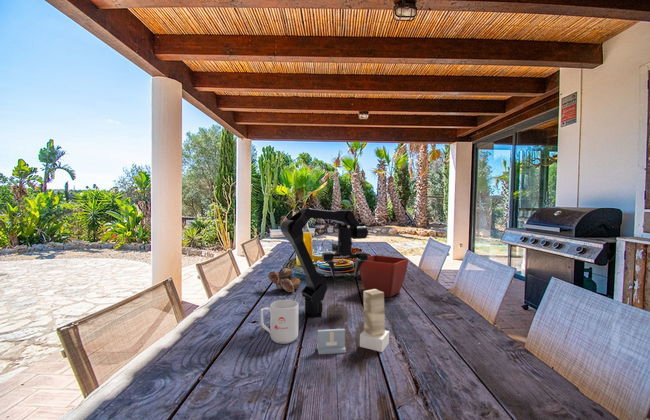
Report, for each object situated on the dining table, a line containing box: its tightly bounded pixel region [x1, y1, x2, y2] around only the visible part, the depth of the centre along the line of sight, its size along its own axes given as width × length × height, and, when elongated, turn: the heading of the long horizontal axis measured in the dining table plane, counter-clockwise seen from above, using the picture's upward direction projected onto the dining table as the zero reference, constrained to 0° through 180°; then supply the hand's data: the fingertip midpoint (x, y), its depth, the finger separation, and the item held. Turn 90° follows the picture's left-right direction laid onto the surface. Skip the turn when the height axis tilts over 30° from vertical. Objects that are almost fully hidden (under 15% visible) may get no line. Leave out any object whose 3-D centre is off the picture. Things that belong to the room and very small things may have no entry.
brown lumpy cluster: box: [267, 268, 302, 293], centre depth 152 cm, size 13×16×15 cm
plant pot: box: [358, 254, 409, 298], centre depth 148 cm, size 19×19×17 cm
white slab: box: [359, 329, 390, 353], centre depth 93 cm, size 7×7×4 cm
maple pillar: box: [362, 289, 386, 336], centre depth 93 cm, size 4×4×12 cm
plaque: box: [316, 328, 347, 355], centre depth 89 cm, size 8×4×6 cm, turn 99°
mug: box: [260, 299, 300, 345], centre depth 96 cm, size 12×9×11 cm
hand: (344, 276), depth 126 cm, fingers open, 9 cm apart
